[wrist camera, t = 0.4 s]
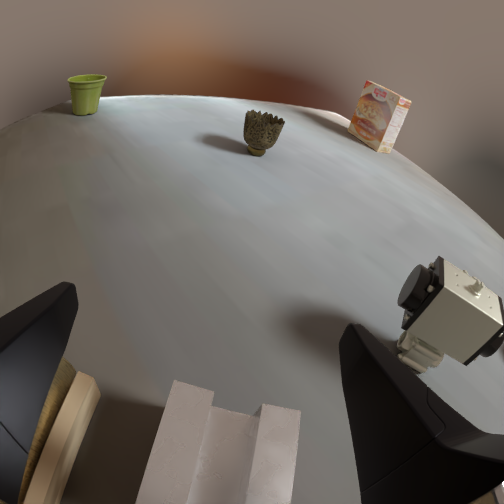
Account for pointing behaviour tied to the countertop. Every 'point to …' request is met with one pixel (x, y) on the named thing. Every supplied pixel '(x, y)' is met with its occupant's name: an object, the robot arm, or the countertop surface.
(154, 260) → the countertop surface
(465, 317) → the pneumatic valve
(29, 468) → the axle
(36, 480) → the beam
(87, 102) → the plant pot
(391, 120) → the coffeecake box
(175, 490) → the cradle
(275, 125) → the cup
